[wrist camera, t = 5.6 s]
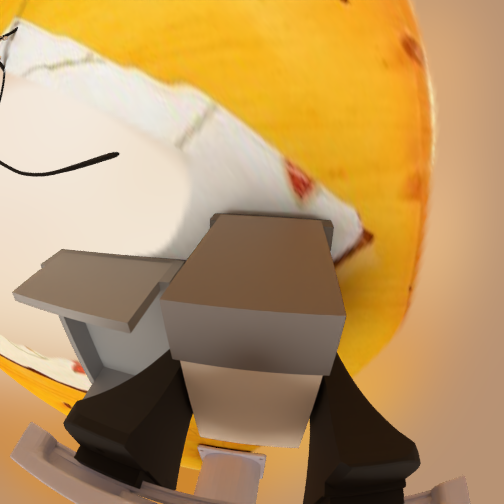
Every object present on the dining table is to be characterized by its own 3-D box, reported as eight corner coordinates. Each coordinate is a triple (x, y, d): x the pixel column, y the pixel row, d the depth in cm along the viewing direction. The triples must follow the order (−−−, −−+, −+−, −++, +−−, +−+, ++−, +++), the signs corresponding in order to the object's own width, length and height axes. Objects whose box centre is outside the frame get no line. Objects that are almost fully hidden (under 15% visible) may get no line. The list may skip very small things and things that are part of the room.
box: (303, 347, 16) (301, 451, 10) (226, 340, 17) (196, 439, 11) (321, 220, 13) (346, 315, 7) (220, 214, 14) (159, 299, 7)
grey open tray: (203, 389, 21) (184, 449, 16) (103, 365, 22) (74, 410, 17) (185, 260, 16) (139, 325, 11) (61, 249, 17) (7, 290, 12)
